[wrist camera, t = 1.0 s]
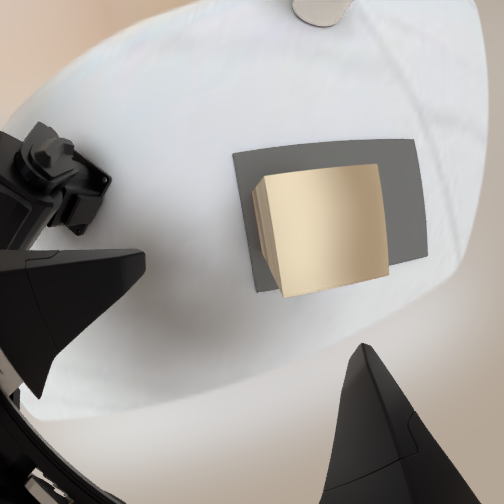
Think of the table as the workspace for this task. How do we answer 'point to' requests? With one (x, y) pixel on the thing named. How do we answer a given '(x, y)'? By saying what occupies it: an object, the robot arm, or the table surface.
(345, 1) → the drinking glass
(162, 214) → the table surface
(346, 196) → the block
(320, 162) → the mat
